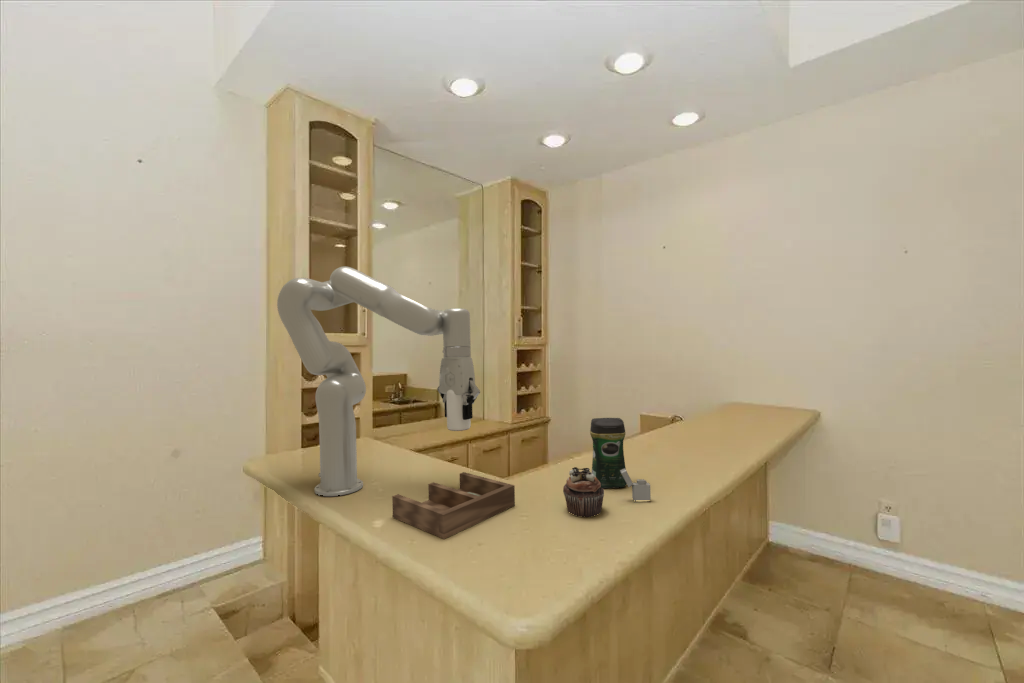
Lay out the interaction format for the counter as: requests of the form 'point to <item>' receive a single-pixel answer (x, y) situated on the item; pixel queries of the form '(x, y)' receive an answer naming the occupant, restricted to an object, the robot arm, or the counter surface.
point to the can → (456, 412)
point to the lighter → (637, 487)
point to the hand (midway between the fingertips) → (458, 417)
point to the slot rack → (455, 505)
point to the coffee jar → (608, 451)
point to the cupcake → (583, 493)
